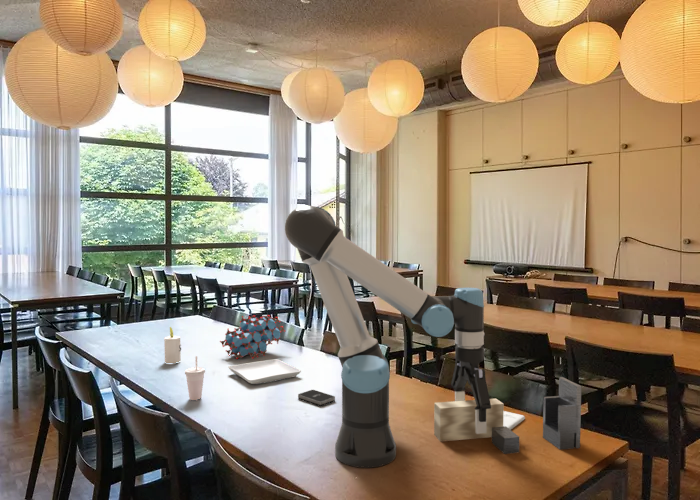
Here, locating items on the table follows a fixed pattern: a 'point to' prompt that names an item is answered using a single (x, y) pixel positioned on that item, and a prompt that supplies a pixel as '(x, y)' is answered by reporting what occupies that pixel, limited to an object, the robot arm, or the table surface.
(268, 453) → the table surface
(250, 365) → the salad plate
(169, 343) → the candle
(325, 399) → the external hard drive
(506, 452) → the block
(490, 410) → the rail
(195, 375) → the smoothie
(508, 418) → the external hard drive
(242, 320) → the molecule model
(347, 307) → the robot arm
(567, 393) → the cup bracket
